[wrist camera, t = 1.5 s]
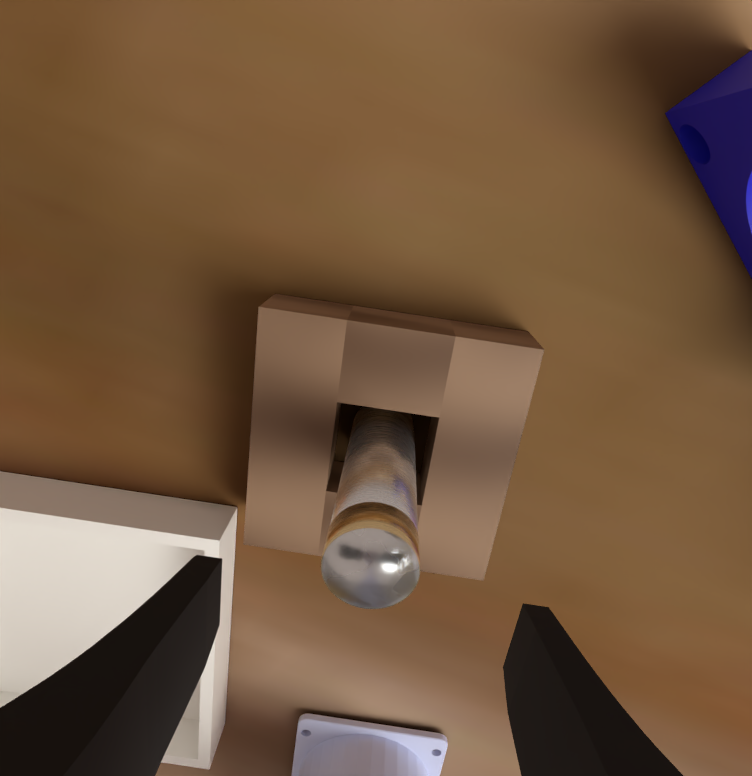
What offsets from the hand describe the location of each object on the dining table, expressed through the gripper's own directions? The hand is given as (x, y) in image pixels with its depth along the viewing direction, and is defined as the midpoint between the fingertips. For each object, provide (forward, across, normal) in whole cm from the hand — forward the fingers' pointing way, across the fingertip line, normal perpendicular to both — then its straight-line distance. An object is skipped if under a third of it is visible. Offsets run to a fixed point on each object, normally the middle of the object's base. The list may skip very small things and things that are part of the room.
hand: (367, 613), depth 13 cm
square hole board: (+11, 0, 0) cm, 11 cm away
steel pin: (+11, 0, 0) cm, 11 cm away
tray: (+10, +13, +12) cm, 21 cm away
